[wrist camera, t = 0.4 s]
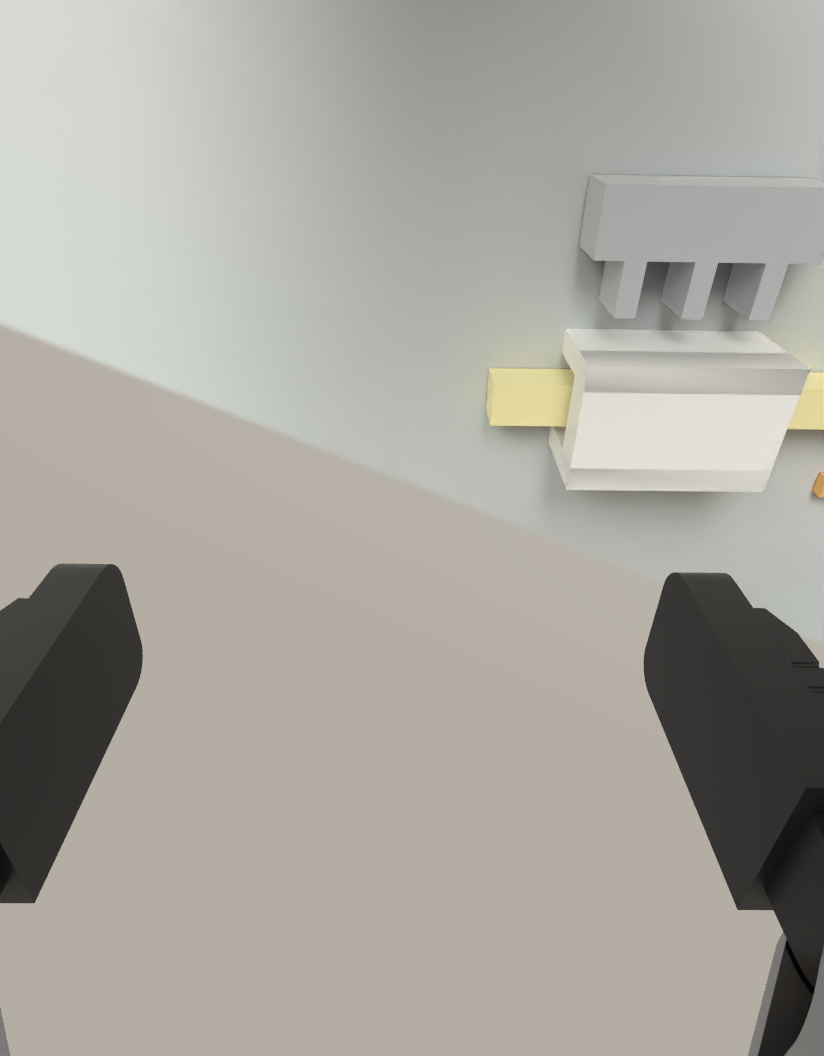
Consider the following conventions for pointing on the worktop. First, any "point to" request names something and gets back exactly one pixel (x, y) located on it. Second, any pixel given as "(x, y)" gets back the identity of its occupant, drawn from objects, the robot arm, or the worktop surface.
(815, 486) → the orange parallel strips
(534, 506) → the worktop surface
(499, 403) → the yellow block
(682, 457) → the sleeve
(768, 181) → the comb
